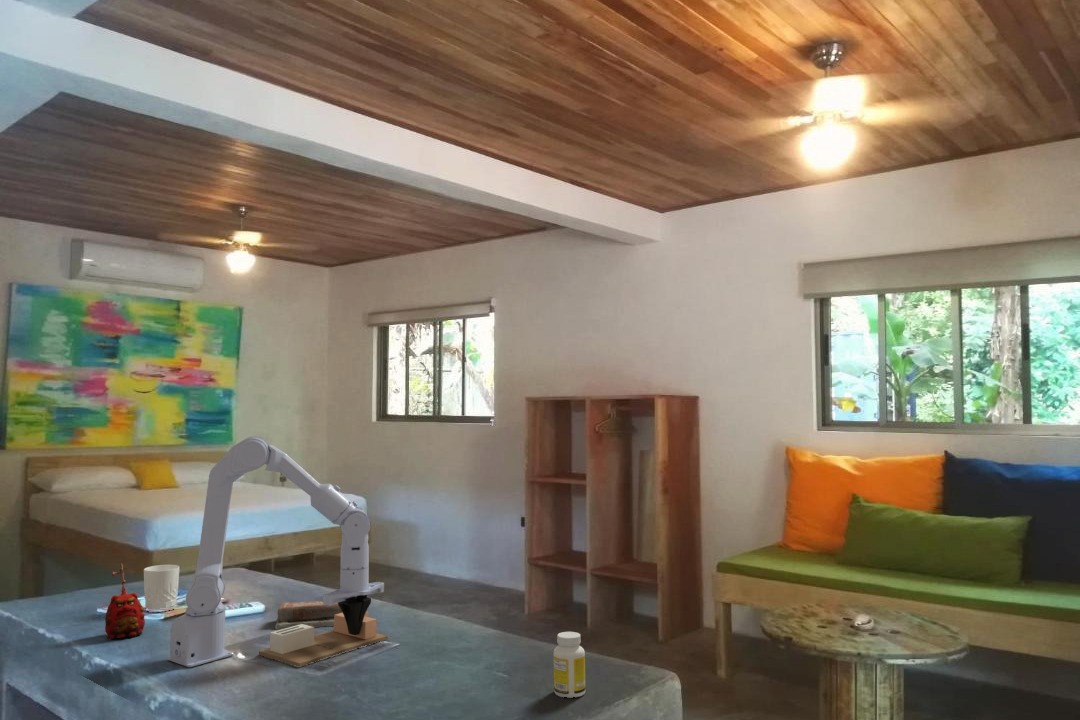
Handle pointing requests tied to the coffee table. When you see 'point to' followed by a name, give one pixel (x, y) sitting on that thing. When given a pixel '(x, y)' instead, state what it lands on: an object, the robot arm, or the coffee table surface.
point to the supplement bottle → (569, 666)
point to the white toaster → (291, 638)
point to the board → (322, 648)
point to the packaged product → (306, 614)
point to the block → (367, 626)
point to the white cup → (161, 586)
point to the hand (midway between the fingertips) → (354, 633)
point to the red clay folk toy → (124, 614)
